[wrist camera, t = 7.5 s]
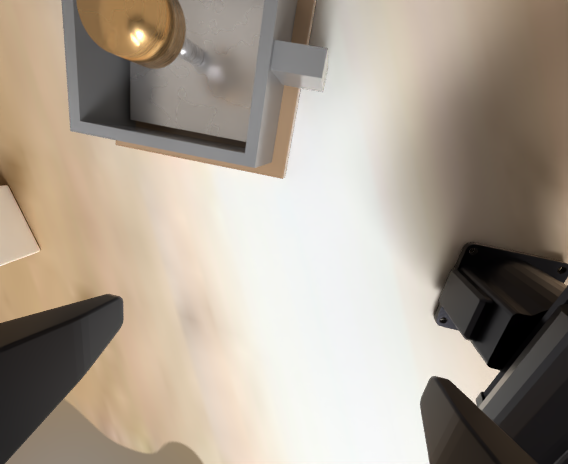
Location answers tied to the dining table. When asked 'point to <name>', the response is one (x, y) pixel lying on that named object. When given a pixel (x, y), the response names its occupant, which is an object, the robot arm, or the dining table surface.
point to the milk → (14, 230)
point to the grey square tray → (191, 145)
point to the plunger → (183, 59)
